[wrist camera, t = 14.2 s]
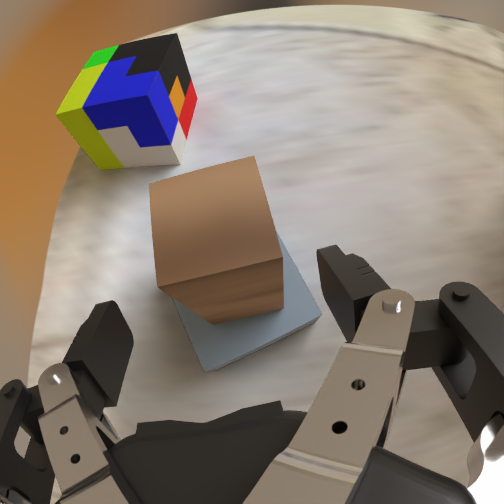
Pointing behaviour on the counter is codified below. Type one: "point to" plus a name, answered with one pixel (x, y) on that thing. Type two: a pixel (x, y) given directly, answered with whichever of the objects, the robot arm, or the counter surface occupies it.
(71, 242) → the counter surface
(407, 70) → the counter surface
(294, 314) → the slate plinth
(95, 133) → the puzzle toy
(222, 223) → the walnut block
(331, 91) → the counter surface
